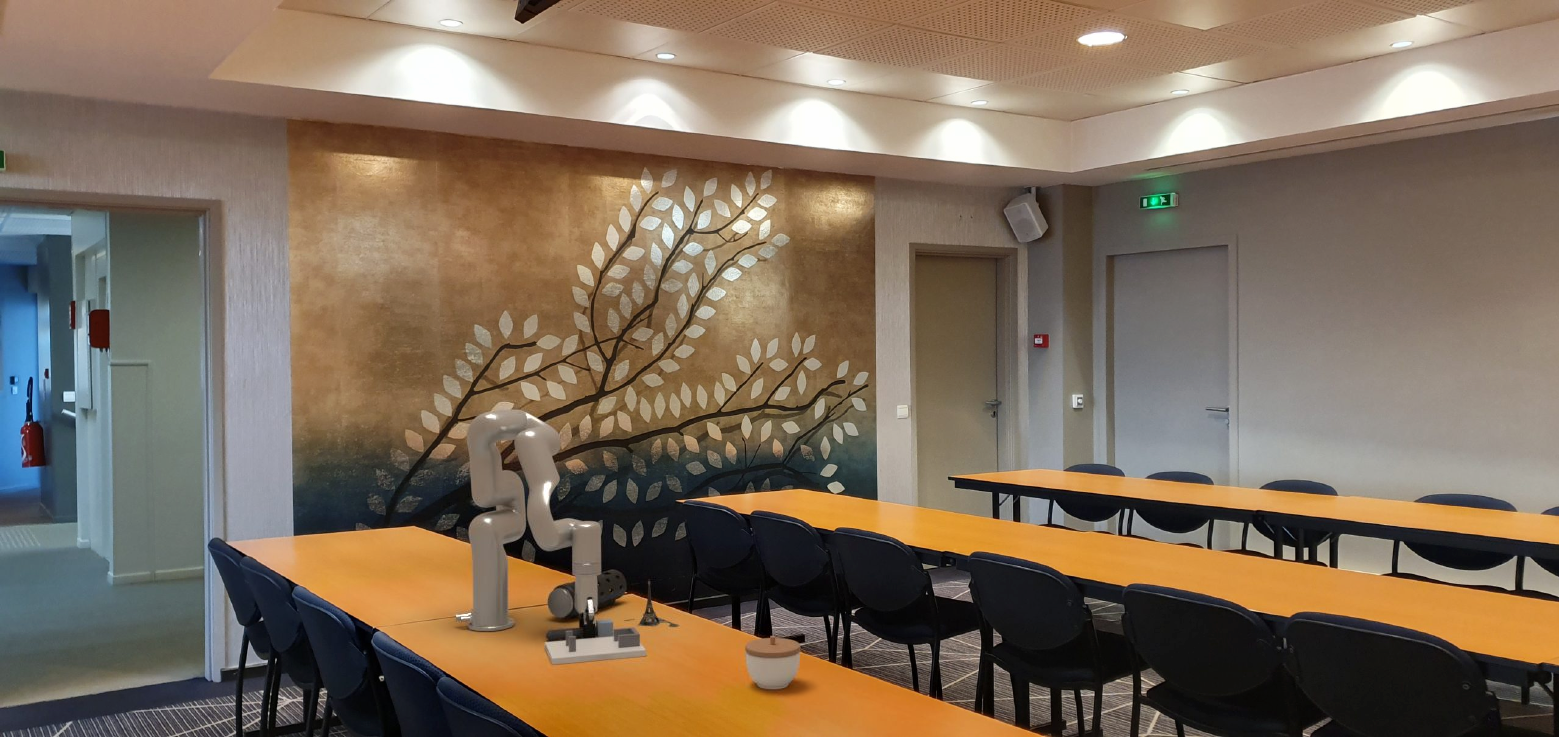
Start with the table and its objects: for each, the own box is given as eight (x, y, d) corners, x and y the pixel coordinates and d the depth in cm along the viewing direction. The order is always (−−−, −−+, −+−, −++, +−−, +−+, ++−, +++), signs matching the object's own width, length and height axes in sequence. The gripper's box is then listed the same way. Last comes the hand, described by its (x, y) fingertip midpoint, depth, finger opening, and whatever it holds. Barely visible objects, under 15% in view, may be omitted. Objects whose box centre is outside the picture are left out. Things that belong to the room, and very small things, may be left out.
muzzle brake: (627, 603, 332) (627, 569, 332) (573, 624, 307) (572, 587, 307) (601, 600, 336) (601, 567, 336) (545, 621, 311) (544, 584, 311)
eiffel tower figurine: (680, 627, 305) (680, 579, 305) (648, 633, 299) (648, 584, 299) (654, 617, 317) (653, 571, 317) (622, 622, 311) (622, 575, 311)
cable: (546, 642, 287) (546, 627, 287) (545, 639, 291) (545, 624, 291) (613, 636, 293) (613, 622, 293) (610, 633, 297) (610, 618, 297)
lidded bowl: (781, 696, 242) (781, 646, 242) (734, 687, 248) (734, 638, 248) (810, 681, 252) (810, 633, 252) (764, 673, 259) (764, 626, 259)
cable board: (552, 664, 267) (552, 643, 267) (544, 647, 282) (544, 628, 282) (646, 655, 275) (645, 635, 274) (633, 640, 290) (633, 620, 290)
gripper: (568, 563, 299) (568, 629, 300) (577, 575, 283) (577, 645, 283) (595, 561, 302) (596, 626, 302) (606, 573, 286) (606, 642, 286)
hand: (587, 635), depth 293 cm, fingers open, 5 cm apart
